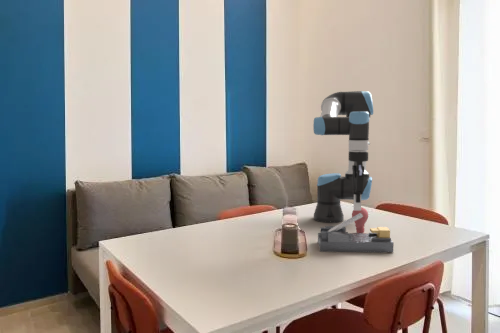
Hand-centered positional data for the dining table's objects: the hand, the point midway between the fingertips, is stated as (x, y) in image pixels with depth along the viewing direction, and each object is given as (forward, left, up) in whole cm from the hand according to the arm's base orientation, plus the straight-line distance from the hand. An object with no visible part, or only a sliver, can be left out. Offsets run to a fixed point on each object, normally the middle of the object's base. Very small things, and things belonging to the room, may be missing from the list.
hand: (357, 210), depth 166 cm
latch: (+6, +7, -11) cm, 14 cm away
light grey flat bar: (-4, -4, -7) cm, 9 cm away
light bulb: (-11, +18, -16) cm, 26 cm away
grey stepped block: (-1, 0, -15) cm, 15 cm away
